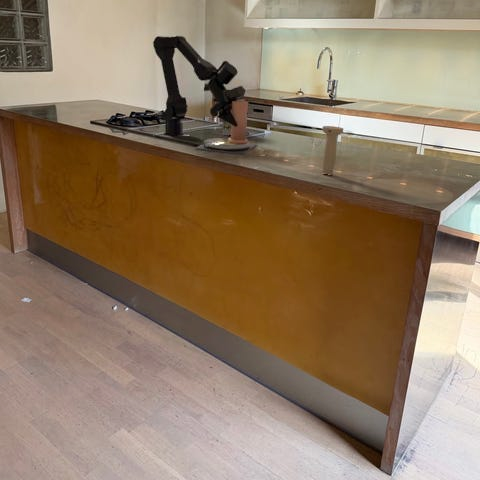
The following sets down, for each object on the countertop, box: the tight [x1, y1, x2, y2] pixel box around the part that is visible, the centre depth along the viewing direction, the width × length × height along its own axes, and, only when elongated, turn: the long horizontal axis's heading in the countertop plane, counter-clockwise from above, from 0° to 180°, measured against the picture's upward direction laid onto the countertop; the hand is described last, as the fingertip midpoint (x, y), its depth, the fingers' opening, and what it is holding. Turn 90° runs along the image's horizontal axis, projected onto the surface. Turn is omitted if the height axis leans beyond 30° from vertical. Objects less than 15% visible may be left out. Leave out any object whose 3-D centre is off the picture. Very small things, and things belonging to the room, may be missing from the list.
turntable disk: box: [203, 137, 250, 150], centre depth 187 cm, size 18×18×1 cm
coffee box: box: [222, 96, 243, 136], centre depth 212 cm, size 9×6×16 cm
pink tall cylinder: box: [227, 99, 249, 144], centre depth 186 cm, size 8×8×16 cm
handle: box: [321, 125, 344, 175], centre depth 152 cm, size 5×6×15 cm
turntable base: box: [194, 142, 257, 156], centre depth 188 cm, size 19×19×1 cm
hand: (241, 125), depth 186 cm, fingers closed on pink tall cylinder, 6 cm apart
